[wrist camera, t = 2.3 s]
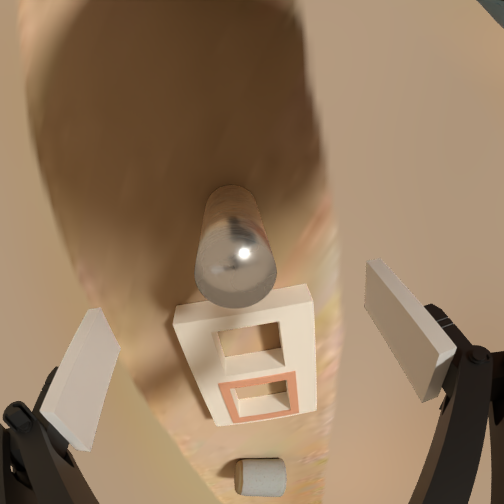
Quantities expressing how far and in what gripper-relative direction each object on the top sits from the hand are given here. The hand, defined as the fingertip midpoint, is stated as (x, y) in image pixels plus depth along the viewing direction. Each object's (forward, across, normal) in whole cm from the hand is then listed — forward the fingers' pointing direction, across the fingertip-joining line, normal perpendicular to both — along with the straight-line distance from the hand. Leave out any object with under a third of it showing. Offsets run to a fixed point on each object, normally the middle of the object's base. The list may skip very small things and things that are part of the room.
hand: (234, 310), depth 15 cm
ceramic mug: (+14, -4, -47) cm, 49 cm away
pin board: (+14, 0, -17) cm, 22 cm away
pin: (+14, 0, 0) cm, 14 cm away
